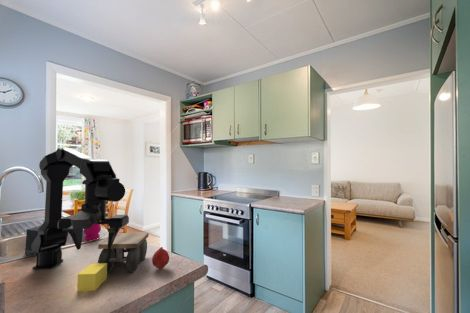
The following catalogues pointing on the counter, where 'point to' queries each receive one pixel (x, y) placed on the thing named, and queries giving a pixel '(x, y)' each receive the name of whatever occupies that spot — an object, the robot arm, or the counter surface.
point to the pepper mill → (92, 232)
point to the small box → (31, 240)
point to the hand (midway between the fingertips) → (94, 248)
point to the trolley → (124, 250)
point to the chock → (92, 277)
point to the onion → (160, 258)
